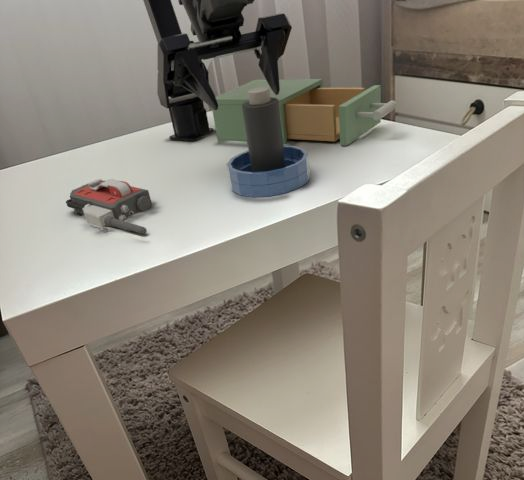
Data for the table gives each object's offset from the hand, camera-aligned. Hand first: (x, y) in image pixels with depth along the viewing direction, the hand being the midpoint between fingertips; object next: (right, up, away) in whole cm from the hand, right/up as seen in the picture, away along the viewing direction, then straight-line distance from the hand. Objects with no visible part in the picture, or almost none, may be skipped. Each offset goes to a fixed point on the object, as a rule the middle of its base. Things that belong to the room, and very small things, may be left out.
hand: (247, 100), depth 72 cm
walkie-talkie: (-18, -16, +2) cm, 24 cm away
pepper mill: (+3, -10, +3) cm, 11 cm away
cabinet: (+4, +5, +24) cm, 25 cm away
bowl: (+3, -11, +3) cm, 12 cm away
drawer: (+15, +2, +16) cm, 22 cm away
